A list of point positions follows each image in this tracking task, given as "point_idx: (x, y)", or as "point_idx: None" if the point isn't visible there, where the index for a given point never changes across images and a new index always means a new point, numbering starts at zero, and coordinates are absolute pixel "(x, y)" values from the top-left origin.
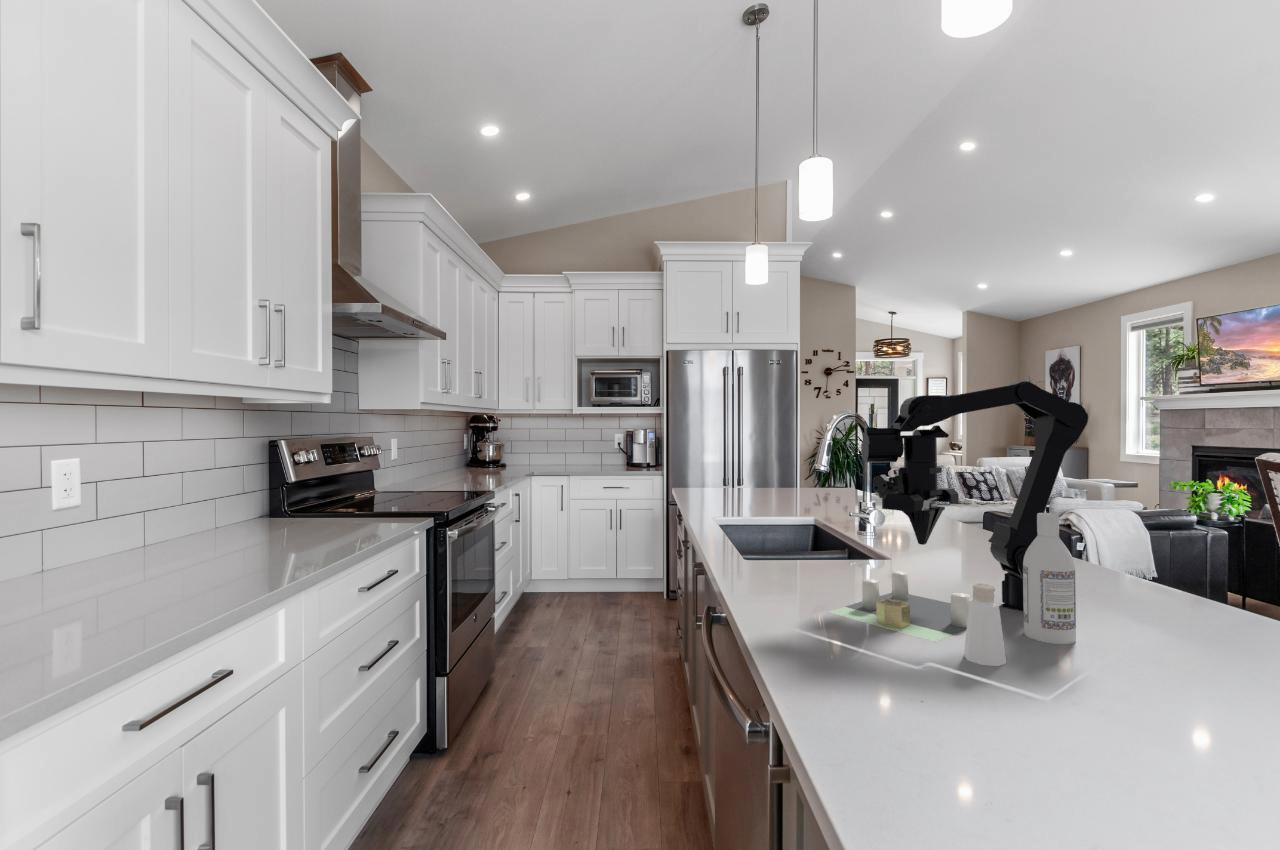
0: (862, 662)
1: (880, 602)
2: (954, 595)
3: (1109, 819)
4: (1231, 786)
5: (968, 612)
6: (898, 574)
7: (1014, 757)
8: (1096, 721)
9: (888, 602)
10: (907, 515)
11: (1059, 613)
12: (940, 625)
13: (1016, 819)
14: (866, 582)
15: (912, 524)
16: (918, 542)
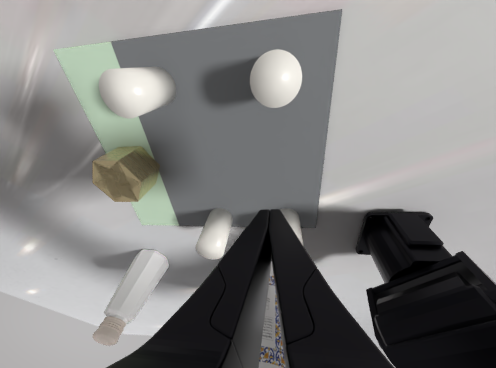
0: (38, 207)
1: (97, 168)
2: (200, 245)
3: (76, 315)
4: (140, 330)
5: (116, 295)
6: (255, 90)
7: (71, 295)
8: None
9: (111, 176)
10: (127, 359)
11: None
12: (193, 205)
13: (42, 302)
14: (102, 97)
15: (205, 285)
16: (258, 213)
